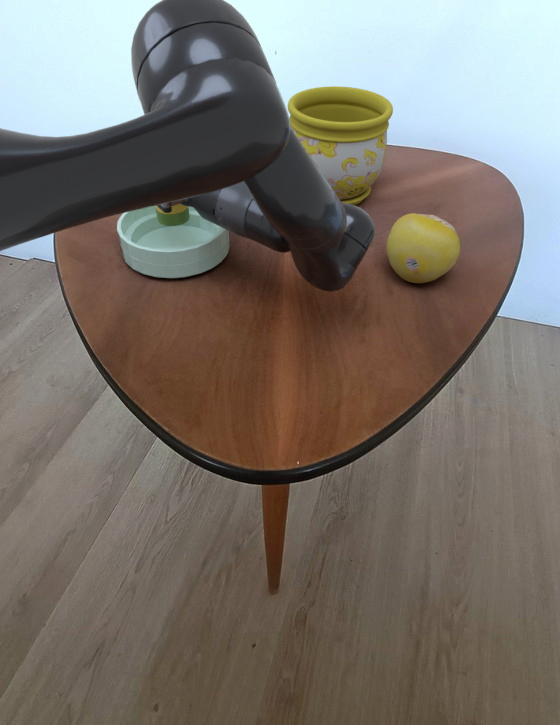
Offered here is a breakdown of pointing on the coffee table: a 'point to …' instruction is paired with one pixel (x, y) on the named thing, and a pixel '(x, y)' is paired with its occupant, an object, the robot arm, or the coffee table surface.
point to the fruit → (422, 247)
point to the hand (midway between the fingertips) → (155, 167)
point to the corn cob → (173, 215)
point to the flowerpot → (343, 135)
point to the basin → (170, 244)
